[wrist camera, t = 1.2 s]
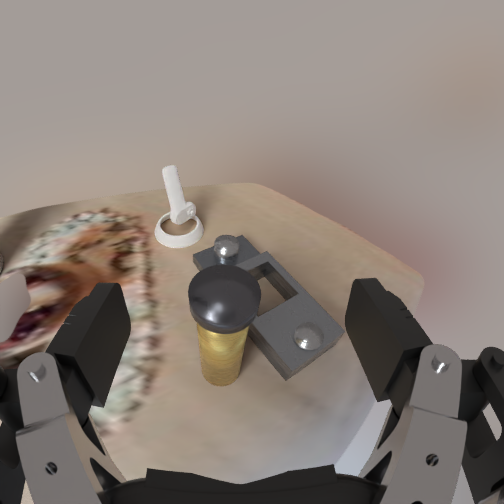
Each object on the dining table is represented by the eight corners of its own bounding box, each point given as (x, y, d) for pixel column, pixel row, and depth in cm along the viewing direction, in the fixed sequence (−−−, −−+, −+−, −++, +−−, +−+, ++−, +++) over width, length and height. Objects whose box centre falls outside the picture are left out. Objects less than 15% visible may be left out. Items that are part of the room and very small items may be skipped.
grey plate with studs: (193, 262, 39) (192, 244, 36) (241, 242, 43) (243, 224, 40) (285, 380, 28) (293, 369, 26) (335, 343, 32) (346, 329, 30)
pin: (189, 361, 29) (176, 280, 19) (226, 342, 31) (234, 255, 21) (213, 397, 26) (212, 335, 16) (252, 375, 28) (275, 301, 19)
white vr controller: (167, 171, 46) (194, 160, 41) (187, 238, 48) (216, 234, 44) (131, 180, 40) (155, 167, 36) (154, 254, 43) (181, 251, 39)
